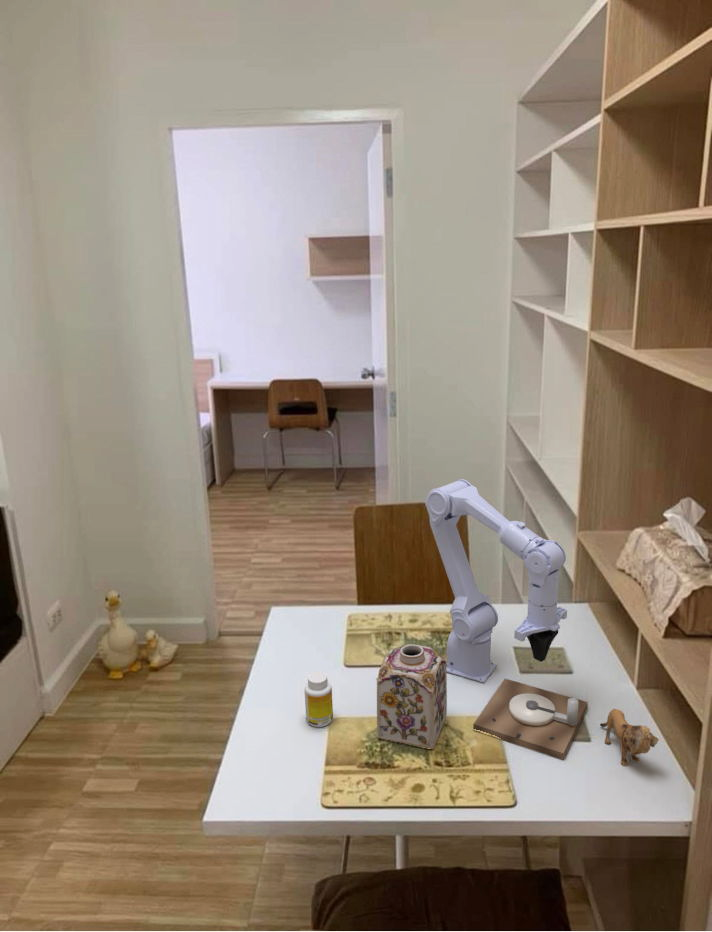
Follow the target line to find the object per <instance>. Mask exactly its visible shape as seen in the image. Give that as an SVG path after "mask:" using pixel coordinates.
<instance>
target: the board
mask: <svg viewBox="0 0 712 932" xmlns="http://www.w3.org/2000/svg"><path fill="white" fill-rule="evenodd" d="M525 693H531V694H537V695H541V696H543V697H545V698H547V699H549V700H550V701H551V702H552V703H553V705H554V707H555V712H557V713H561V714H564V715H567V706H568V699H569V698H573V697H572V696H568V695H564V694H561V693H558V692H554V691H549V690H547V689H544V688H540V687H537V686H536V687H535V686H533V685H529V684H526V683H522V682H519V681H515V680H511V679H509V678H504V679H503V681H502V682H501V683H500V684H499V685H498V687H497V688H496V690H495V692H494V693H493V695H492V696H491V698H490V699H489V701H488V702H487V704H486V705H485V706H484V708H483V710H482V711H481V712H480V714H479V715H478V717H477V718H476V720H475V721H474V722H473V727H472V729H476V730H480V731H483V732H486V733H489V734H491V735H495V736H497V737H499V738H501V739H502V740H501V739H500V740H501V741H504V742H507V743H510V744H513V745H516V746H520V747H523V748H525V749H529V750H532V751H535V752H537V753H541V754H543V755H547V756H549V757H553V758H555V759H558V760H562V761H564V759H565V757H566V754H567V753H568V750H569V748H570V746H571V744H572V742H573V740H574V738H575V736H574V735H576V734H575V733H577V732H578V729H579V727H580V726H581V723H582V721H583V720H584V716H585V715H586V712H587V710H588V706H589V702H588V701H584V700H582V699H578V698H576V699H577V700H578V716H577V725H575V726H570V725H568V724H567V723H563V722H559V721H556V720H552V721H551V722H549V723H548V724H545V725H540V726H532V725H527V724H523V723H521V722H519V721H517V720H516V719H514V718H513V717H512V716H511V714H510V711H509V703H510V700H511V699H512V698H513V697H515V696H517V695H519V694H525ZM576 731H577V732H576Z"/></svg>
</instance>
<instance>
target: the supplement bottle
mask: <svg viewBox="0 0 712 932" xmlns="http://www.w3.org/2000/svg"><path fill="white" fill-rule="evenodd" d="M332 688H333V687H332V684H331V682H330V681H329V680H328V675H327V673H325V672H323V671H314V672H312V673H310V674H309V675H308V676H307V683H305V685H304V702H305V717H306V722H307V723H308V724H309V725H310V726H312V727H315V728H316V727H317V728H322V727H326V726H327V725H329V724H331V723H332V721H333V719H334V718H333V717H334V709H333V708H334V706H333V691H332V690H333V689H332Z"/></svg>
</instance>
